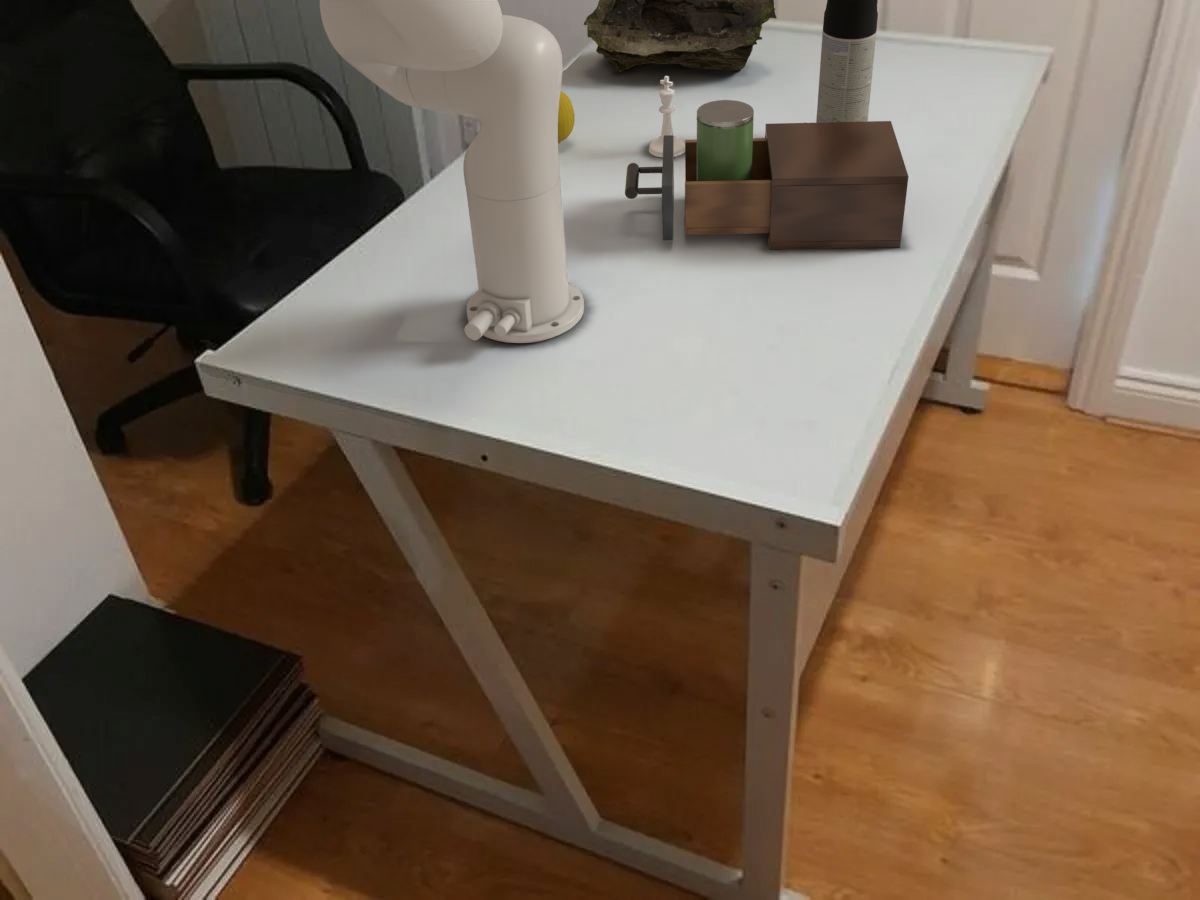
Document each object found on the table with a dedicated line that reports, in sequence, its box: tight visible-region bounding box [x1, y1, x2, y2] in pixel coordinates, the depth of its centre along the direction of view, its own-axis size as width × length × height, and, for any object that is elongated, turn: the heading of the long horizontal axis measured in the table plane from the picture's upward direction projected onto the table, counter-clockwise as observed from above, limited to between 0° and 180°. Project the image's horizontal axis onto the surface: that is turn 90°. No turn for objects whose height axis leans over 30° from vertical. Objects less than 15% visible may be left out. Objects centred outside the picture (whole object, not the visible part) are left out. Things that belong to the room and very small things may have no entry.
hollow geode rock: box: [583, 0, 778, 72], centre depth 182 cm, size 28×13×15 cm
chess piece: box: [648, 75, 685, 158], centre depth 159 cm, size 5×5×10 cm
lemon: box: [558, 90, 576, 145], centre depth 162 cm, size 6×6×8 cm
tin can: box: [696, 99, 755, 181], centre depth 141 cm, size 6×6×12 cm
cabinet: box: [764, 120, 909, 250], centre depth 142 cm, size 15×15×9 cm
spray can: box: [815, 0, 879, 123], centre depth 155 cm, size 7×7×20 cm
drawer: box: [624, 135, 772, 242], centre depth 143 cm, size 18×14×7 cm
